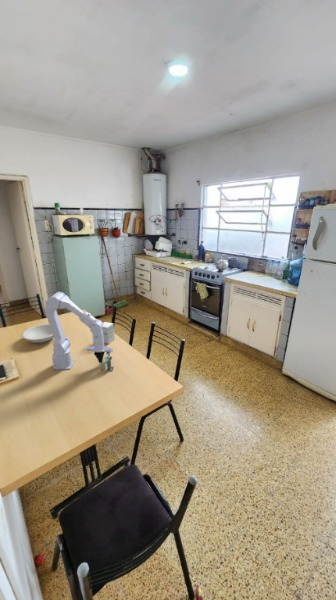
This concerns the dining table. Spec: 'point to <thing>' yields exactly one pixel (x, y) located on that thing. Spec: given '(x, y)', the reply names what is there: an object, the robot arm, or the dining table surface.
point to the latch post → (109, 366)
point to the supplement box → (108, 332)
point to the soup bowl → (38, 333)
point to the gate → (105, 360)
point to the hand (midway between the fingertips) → (100, 361)
